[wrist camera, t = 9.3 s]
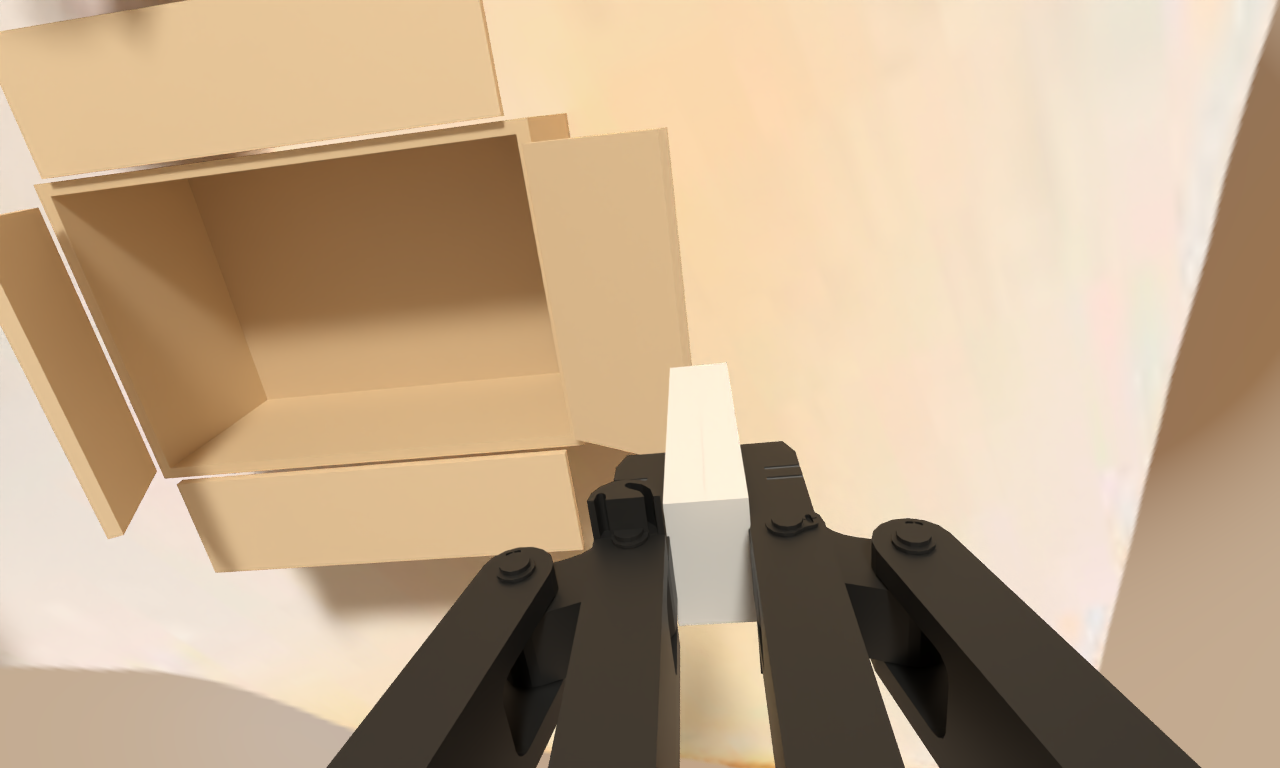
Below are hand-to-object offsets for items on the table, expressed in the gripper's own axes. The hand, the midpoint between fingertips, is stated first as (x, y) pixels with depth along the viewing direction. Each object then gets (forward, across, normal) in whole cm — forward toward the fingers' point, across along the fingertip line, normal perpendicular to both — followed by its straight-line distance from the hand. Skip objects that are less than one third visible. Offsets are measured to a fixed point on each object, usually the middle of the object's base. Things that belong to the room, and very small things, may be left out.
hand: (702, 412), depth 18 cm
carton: (+25, -18, 0) cm, 31 cm away
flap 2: (+14, -7, 0) cm, 15 cm away
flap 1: (+14, -30, 0) cm, 33 cm away
